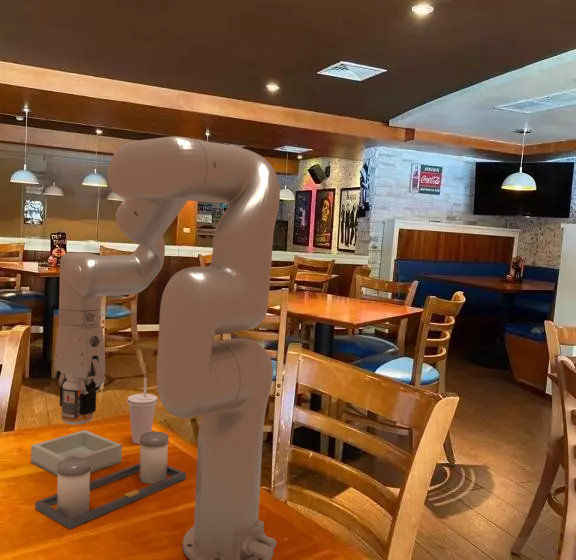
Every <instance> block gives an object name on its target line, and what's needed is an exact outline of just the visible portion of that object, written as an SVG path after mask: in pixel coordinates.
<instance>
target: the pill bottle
mask: <svg viewBox="0 0 576 560" xmlns="http://www.w3.org/2000/svg"><path fill="white" fill-rule="evenodd" d="M89 376H90V373H89V374H88V377H89ZM65 377H66V379H67V381H66V382H64V384H63V386H62V406H61V420H62V421H61V422H63V423H64V424H67V425H84V424H87V423H89V422H91V421H92V420H93V415H94V414H93V413H94V412H92V413H88V414H84V415H82V414H80V394H83V392H82V387H81V382H80V379H79V378H76V377H74V376H73V375H72V374H71V373H68V372H66V375H65ZM86 381H87V386H88V385H89V384H90V382H91V380H86Z"/></svg>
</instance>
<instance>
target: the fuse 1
mask: <svg viewBox="0 0 576 560" xmlns="http://www.w3.org/2000/svg"><path fill="white" fill-rule="evenodd" d="M90 469H91V461H90V460H89V459H87V458H83V457H71V458H66V459H63V460H61V461H59V462H58V463H57V472H58V476H57V480H56V481H57V482H56V483H57V486H56V487H57V488H56V492H57V493H56V494H57V503H56V510H58V511H60V512H62V513H63V514H65V515H67V516H69V517H70V518H73V517H75V516H78V515H80V514H83V513H85V512H87V511H90V491H91V490H90V481H91V473H90Z"/></svg>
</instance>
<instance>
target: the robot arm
mask: <svg viewBox="0 0 576 560" xmlns="http://www.w3.org/2000/svg"><path fill="white" fill-rule="evenodd" d="M277 175H278V174H277V173H276V171H275V169H274V167H273V166H272V165H271V163H270V162H269V161H268V160H267V159H266V158H264V157H263V156H262V155H260V154H258V153H257V152H255V151H252V150H250V149H246V148H243V147H239V146H236V145H230V144H225V143H218V142H211V141H207V140H206V141H205V140H200V139H195V138H191V137H184V136H164V137H158V138H157V137H156V138H149V139H142V140H141V139H140V140H139V139H138V140H134V141H129V142H126V143H124V144H122V145H120V147H119V148H117V149H116V150H115V151H114V153H113V155H112V156H111V158H110V161H109V164H108V168H107V181H108V185H109V187H110V189H111V191H113V192H114V194H115V195H116V196H118V197H120V198H123V200H122V202H121V203H120V205H119V207H118V208H116V209H117V210H116V211H115V212H116V213H115V221H116V225H117V227H118V228H119V230H120V231H121V232H122V234H123V235H124V236H125V237H126V238H128V239H129V240H130V241H132V242H134V243H135V244H137V245H138V246H137V247H136V249H135V250H134V251H133V252H132V253H131V254H113V255H112V254H104V255H101V254H100V255H99V254H96V253H90V252H67V253H64V254H63V255H62V256H61V257H60V262H59V263H60V264H59V299H58V300H59V301H58V328H57V335H56V343H55V344H56V345H55V359H54V362H53V364H52V365H53V368H54V369H55V372H56V376H57V377H58V385H59V387H60V388H59V406H60V407H62V386H63V384H64V382H66V381H67V379H66V377H65V375H66V372H68V373H71V374H72V375H73V376H74V377H76V378H79V379H80V382H81V387H82V392H83V394H80V414H82V415H84V414H88V413H92V412H93V413H95V412H96V410H97V393H98V392H99V389H100V388H101V386H102V384H103V383H104V382H105V381H106V376H105V373H106V348H105V338H104V337H105V336H104V330H103V326H102V325H101V311H102V310H101V309H102V308H101V307H102V297H103V298H104V297H111V296H112V297H114V296H128V295H129V296H130V295H137V294H139V293H141V292H143V291H144V290H145V289H147V288H148V287H149V286H150V284H151V283H152V282H153V281H154V279H156V276H157V275H159V273H160V271H161V270H162V267H163V265H164V261H165V255H166V253H165V252H166V246H165V245H166V244H165V240H164V237H163V236H164V235H165V233H166V231H167V230H168V229H169V228H170V226H171V225H172V223H173V222H174V220H175V219H176V218H177V216H178V215H179V214H180V213H181V211H182V210H183V208H184V207H185V206H186V204H187V203H188V201H191V202H203V203H216V204H219V203H220V204H224V205H227V206H228V208H226V210H225V211H224V213H222V215H221V217H220V218H219V221H218V223H217V225H216V228H215V230H214V234H213V238H212V239H213V240H212V254H211V261H210V264H209V266H206V265H205V266H191V267H186V268H183V269H181V270H179V271H177V272H176V273H175V274H173V275H172V277H171V278H170V279H169V280H168V282H167V284H166V286H165V288H164V290H163V292H162V295H161V300H160V301H161V302H160V306H159V307H160V308H159V324H158V326H159V327H158V341H157V357H156V358H157V359H156V360H157V361H156V362H157V363H156V386H157V392H158V395H159V399H160V402H161V403H162V405H163V407H164V408H165V410H166V411H168V412H169V414H171V415H172V416H175V417H177V418H184V419H186V418H188V419H189V418H194V417H199V416H202V419H201V420H200V421H201V422H200V425H199V428H198V429H199V430H198V434H197V450H196V451H197V453H196V454H197V455H196V456H197V457H196V476H195V477H196V479H195V500H194V502H195V505H194V525H193V526H192V527H191V528H189V529H188V530H187V531H186V533H185V534H184V536H183V539H182V549H183V553H184V555H185V556H186V557H187V558H188V559H189V560H272V558H273V555H274V549H275V547H276V546H277V540H276V538H273V537H271V536H267V535H266V533H265V532H264V528H265V526H264V525H265V522H264V521H263V520H260V519H259V513H260V511H259V510H260V491H261V475H262V456H263V455H262V454H263V442H264V441H263V438H264V426H265V425H264V424H265V418H266V417H265V415H266V410H267V405H268V400H269V396H270V394H271V389H272V385H273V379H274V377H273V376H274V367H273V363H272V359H271V356H270V354H269V352H268V351H267V349H266V348H265V347H264V346H263V345H262V344H260V343H259V342H257V341H255V340H253V339H249V338H242V337H241V338H240V337H239V338H238V337H237V338H229V339H223V340H217V341H214V338H215V336H218V335H226V334H232V333H238V332H245V331H248V330H252V329H255V328H256V327H258V326H259V325H261V324H262V323H263V321H264V320H265V318H266V315H267V313H268V308H269V307H268V306H269V299H270V298H269V297H270V287H271V286H270V285H271V272H272V261H273V260H272V259H273V242H274V232H275V226H276V222H277V218H278V213H279V206H280V198H281V196H280V195H281V188H280V183H279V178H278V176H277ZM89 373H90V376H89V377H88V374H89ZM86 380H90V381H91V382H90V384H89V385H88V386H87V381H86Z"/></svg>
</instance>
